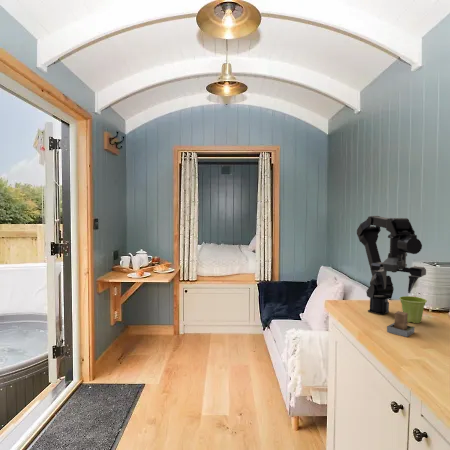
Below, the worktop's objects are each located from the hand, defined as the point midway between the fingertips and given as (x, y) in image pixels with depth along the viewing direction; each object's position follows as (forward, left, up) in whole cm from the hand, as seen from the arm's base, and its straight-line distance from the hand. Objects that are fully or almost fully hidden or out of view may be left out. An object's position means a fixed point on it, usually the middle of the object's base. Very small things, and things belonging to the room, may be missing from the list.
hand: (396, 291), depth 138 cm
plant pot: (+4, +6, -12) cm, 14 cm away
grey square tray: (+6, -11, -12) cm, 17 cm away
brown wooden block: (+6, -11, -12) cm, 17 cm away
